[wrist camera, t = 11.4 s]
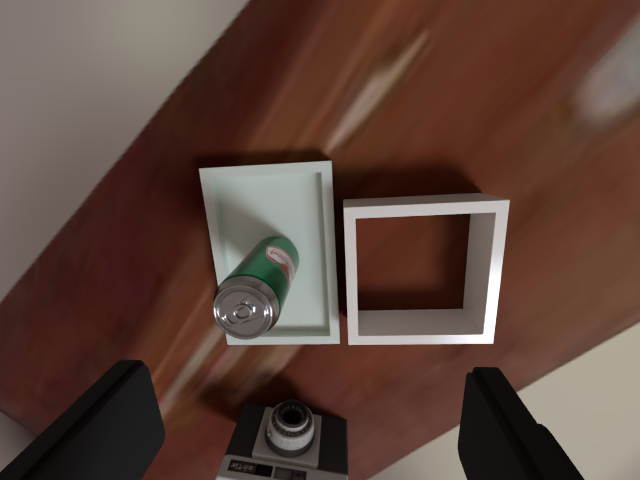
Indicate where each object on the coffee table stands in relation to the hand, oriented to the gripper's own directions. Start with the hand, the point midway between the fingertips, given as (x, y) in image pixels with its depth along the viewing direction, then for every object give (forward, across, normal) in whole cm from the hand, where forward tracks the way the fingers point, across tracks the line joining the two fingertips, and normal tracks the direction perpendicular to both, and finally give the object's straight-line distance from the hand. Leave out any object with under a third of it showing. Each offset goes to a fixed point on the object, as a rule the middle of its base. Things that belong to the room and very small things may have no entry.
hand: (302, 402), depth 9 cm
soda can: (+23, +6, +4) cm, 24 cm away
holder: (+24, -8, +5) cm, 26 cm away
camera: (+24, +6, +26) cm, 36 cm away
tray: (+24, +6, +4) cm, 25 cm away
